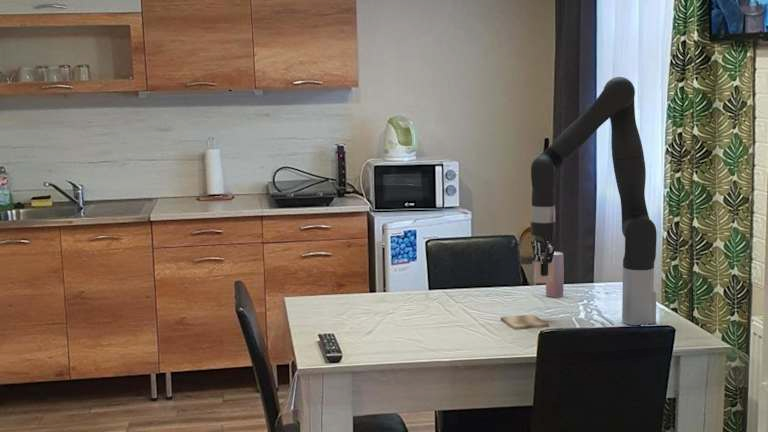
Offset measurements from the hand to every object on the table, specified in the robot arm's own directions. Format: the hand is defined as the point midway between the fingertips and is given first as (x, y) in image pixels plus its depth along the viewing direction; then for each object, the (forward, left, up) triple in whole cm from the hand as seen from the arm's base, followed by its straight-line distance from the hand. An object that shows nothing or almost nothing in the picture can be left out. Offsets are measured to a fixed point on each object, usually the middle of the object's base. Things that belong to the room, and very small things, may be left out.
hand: (542, 274), depth 296 cm
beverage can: (-17, -28, -15) cm, 36 cm away
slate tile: (0, 0, -2) cm, 2 cm away
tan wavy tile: (+7, +3, -14) cm, 16 cm away
